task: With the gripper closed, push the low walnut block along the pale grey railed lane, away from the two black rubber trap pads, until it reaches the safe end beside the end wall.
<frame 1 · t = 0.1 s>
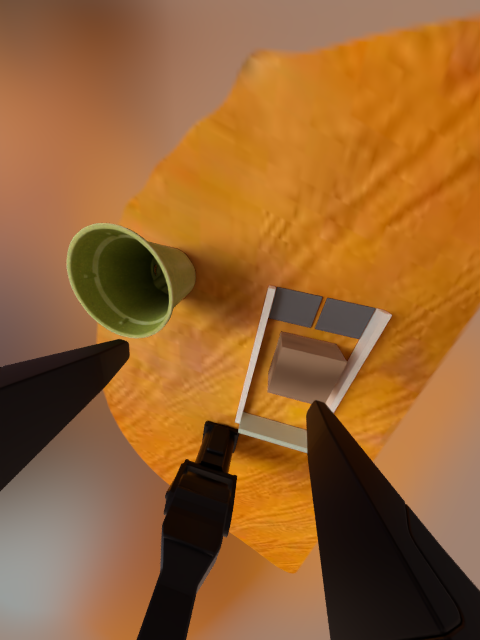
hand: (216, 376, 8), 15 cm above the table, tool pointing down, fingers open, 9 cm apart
plant pot: (174, 272, 22), on the table
lane: (294, 373, 25), on the table
walnut block: (299, 358, 24), resting in lane
trap pads: (318, 313, 21), on the table
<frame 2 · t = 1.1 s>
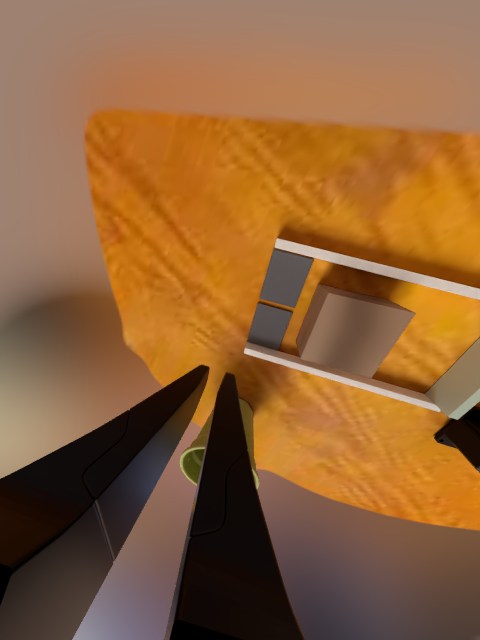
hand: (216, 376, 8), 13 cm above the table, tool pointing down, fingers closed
plant pot: (234, 408, 28), on the table
lane: (360, 328, 19), on the table
walnut block: (337, 321, 19), resting in lane
trap pads: (276, 305, 20), on the table
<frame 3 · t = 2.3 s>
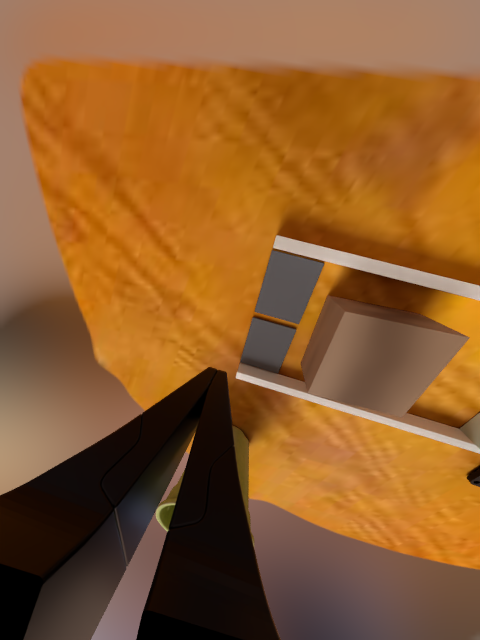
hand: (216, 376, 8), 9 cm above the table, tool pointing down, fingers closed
plant pot: (226, 435, 24), on the table
lane: (382, 350, 15), on the table
walnut block: (352, 340, 15), resting in lane
trap pads: (275, 319, 16), on the table
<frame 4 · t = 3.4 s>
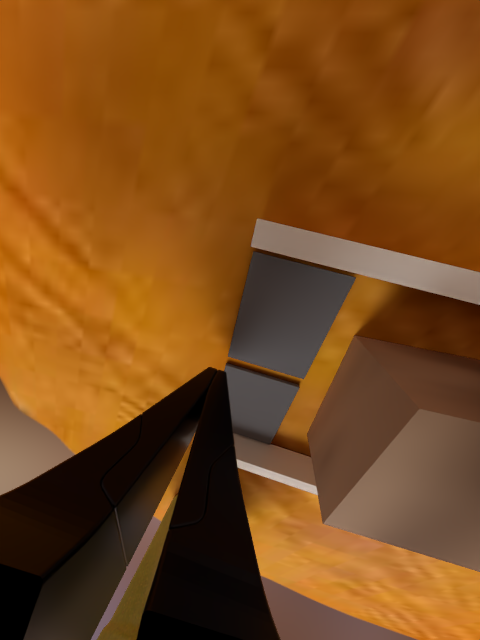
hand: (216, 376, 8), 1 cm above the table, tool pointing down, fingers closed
plant pot: (202, 504, 17), on the table
lane: (450, 425, 9), on the table
walnut block: (395, 405, 9), resting in lane
trap pads: (263, 369, 9), on the table
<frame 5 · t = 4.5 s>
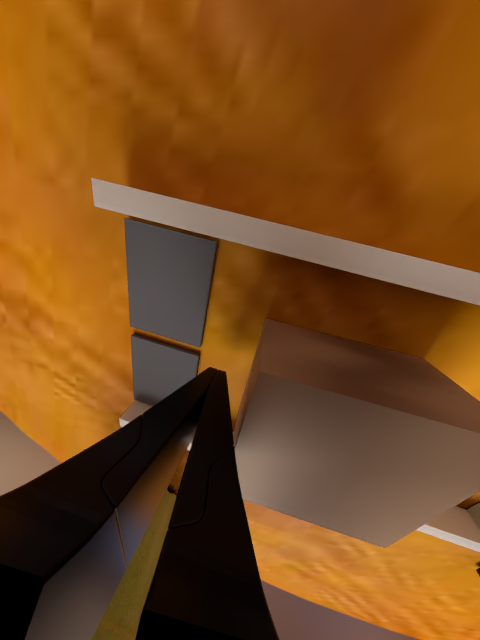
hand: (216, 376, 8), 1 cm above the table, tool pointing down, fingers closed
plant pot: (151, 485, 18), on the table
lane: (338, 392, 9), on the table
walnut block: (311, 389, 10), resting in lane
trap pads: (166, 339, 10), on the table
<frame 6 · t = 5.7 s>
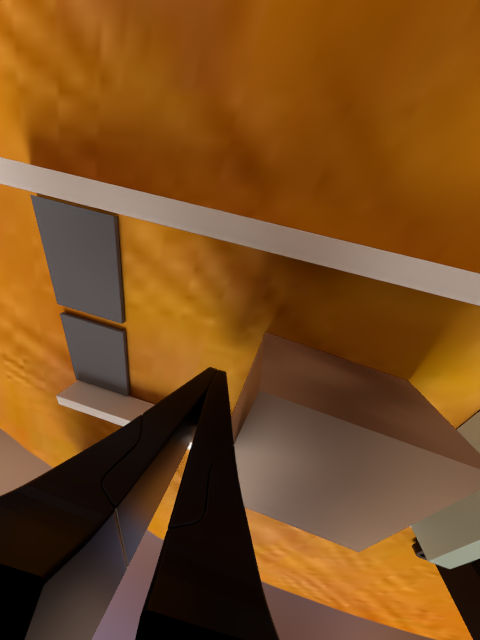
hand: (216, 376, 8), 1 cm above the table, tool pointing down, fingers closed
lane: (252, 365, 9), on the table
walnut block: (303, 400, 10), resting in lane
trap pads: (93, 317, 10), on the table
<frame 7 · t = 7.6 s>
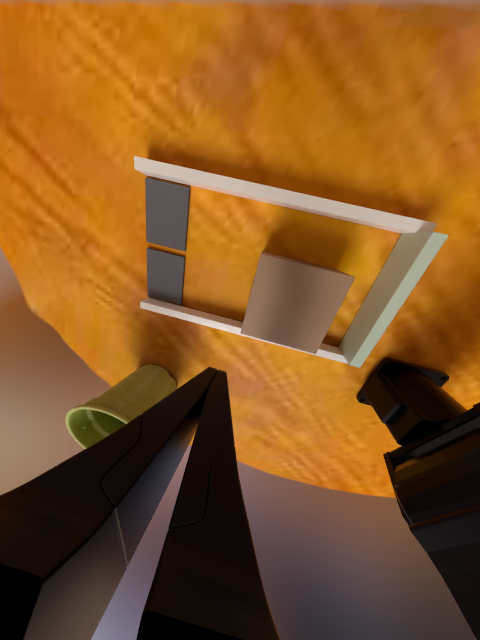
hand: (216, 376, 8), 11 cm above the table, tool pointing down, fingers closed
plant pot: (157, 379, 26), on the table
lane: (258, 272, 17), on the table
walnut block: (286, 295, 18), resting in lane
trap pads: (166, 249, 18), on the table
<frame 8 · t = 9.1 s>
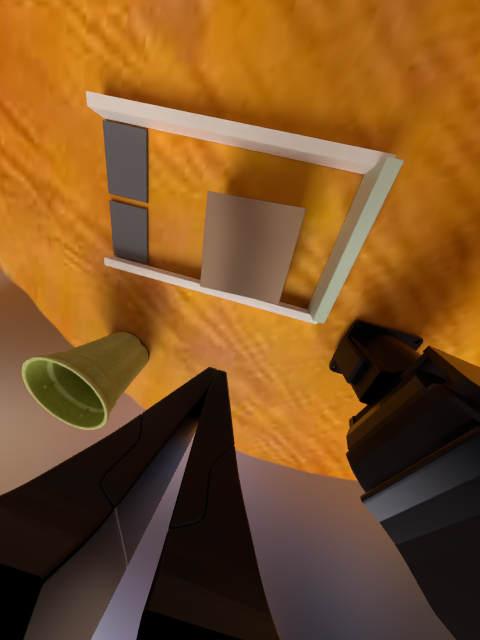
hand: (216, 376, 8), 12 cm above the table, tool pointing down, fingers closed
plant pot: (130, 349, 25), on the table
lane: (220, 224, 16), on the table
walnut block: (251, 250, 17), resting in lane
trap pads: (129, 201, 17), on the table
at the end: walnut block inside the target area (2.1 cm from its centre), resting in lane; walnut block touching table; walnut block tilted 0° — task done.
